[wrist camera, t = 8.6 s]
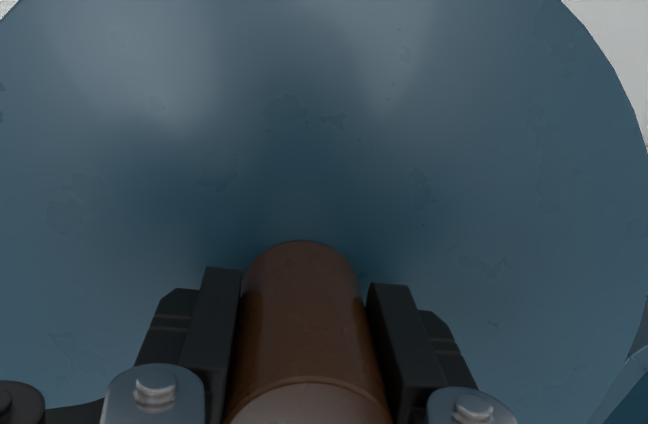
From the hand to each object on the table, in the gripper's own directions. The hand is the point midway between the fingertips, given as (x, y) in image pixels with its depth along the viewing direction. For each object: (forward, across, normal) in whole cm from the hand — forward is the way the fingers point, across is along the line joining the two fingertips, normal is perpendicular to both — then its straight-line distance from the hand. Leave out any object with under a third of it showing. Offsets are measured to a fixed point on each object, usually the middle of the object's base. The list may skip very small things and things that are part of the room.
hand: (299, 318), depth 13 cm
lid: (+2, 0, 0) cm, 2 cm away
